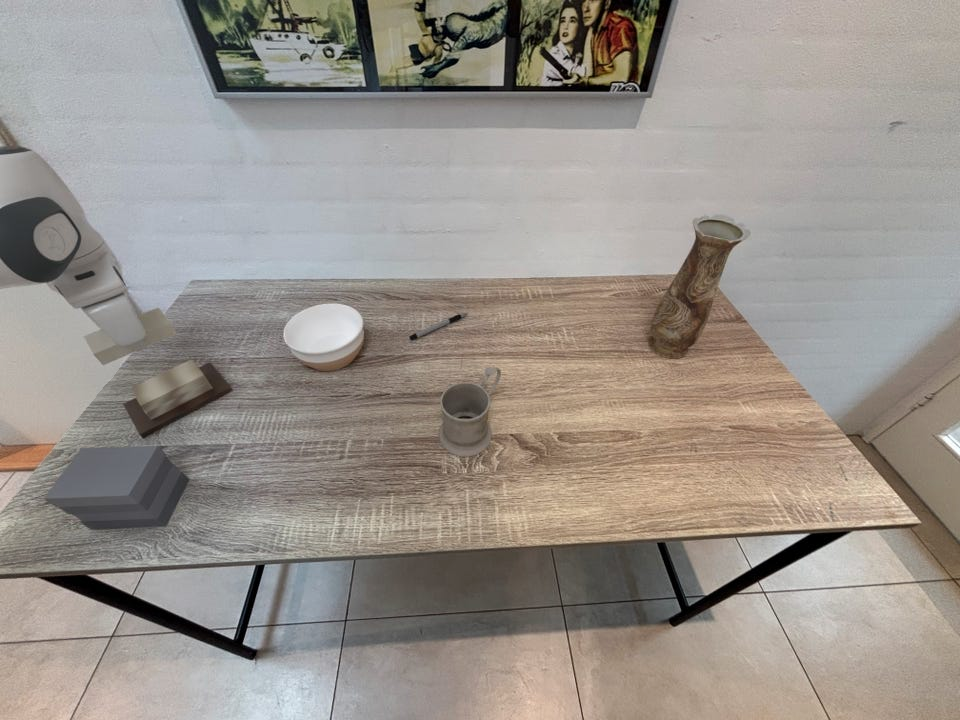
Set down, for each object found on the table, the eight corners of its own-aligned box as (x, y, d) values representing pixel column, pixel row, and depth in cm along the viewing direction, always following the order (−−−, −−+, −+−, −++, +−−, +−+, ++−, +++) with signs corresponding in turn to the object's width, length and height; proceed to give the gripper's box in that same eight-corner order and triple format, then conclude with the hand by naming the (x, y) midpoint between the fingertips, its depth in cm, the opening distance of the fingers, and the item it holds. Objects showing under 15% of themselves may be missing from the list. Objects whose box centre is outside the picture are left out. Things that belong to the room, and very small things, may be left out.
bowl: (384, 351, 91) (378, 323, 86) (323, 392, 82) (313, 364, 77) (339, 321, 98) (332, 294, 93) (279, 356, 89) (267, 328, 84)
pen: (409, 339, 95) (408, 334, 94) (466, 313, 102) (466, 309, 101) (411, 342, 94) (411, 337, 93) (469, 316, 101) (469, 311, 100)
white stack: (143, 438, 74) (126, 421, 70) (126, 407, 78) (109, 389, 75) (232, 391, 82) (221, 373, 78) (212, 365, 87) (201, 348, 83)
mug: (467, 466, 71) (467, 425, 63) (427, 435, 76) (423, 393, 67) (516, 417, 79) (523, 375, 71) (478, 391, 84) (480, 349, 75)
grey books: (90, 529, 62) (43, 498, 55) (120, 481, 68) (80, 448, 61) (166, 526, 63) (128, 495, 56) (189, 479, 68) (158, 445, 61)
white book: (103, 365, 65) (93, 354, 63) (93, 347, 68) (83, 336, 66) (177, 333, 71) (170, 322, 69) (165, 318, 74) (158, 307, 72)
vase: (700, 354, 93) (768, 232, 72) (665, 367, 90) (725, 244, 69) (667, 327, 100) (721, 208, 79) (633, 338, 97) (680, 218, 76)
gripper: (38, 247, 63) (95, 318, 72) (69, 305, 53) (131, 378, 62) (87, 233, 66) (135, 303, 76) (125, 286, 56) (176, 358, 66)
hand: (134, 337), depth 69 cm, fingers closed on white book, 6 cm apart
